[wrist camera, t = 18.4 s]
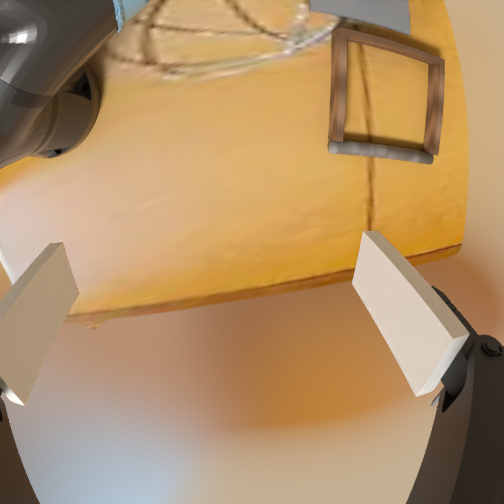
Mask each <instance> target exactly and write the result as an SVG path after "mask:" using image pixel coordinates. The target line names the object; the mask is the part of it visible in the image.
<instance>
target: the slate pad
mask: <svg viewBox="0 0 504 504" xmlns="http://www.w3.org/2000/svg"><path fill="white" fill-rule="evenodd" d="M309 10H310V11H314V12H320V13H326V14H331V15H336V16H341V17H346V18H350V19H355V20H359V21H363V22H366V23H370V24H374V25H377V26H381V27H384V28H387V29H391V30H394V31H397V32H400V33H403V34H406V35H410V17H409V5H408V0H309Z"/></svg>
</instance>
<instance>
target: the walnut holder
mask: <svg viewBox="0 0 504 504" xmlns="http://www.w3.org/2000/svg"><path fill="white" fill-rule="evenodd" d="M347 41H351V42H356V43H360V44H365V45H369V46H373V47H377V48H380V49H384V50H388V51H391V52H394V53H398V54H401V55H404V56H407V57H410V58H413V59H416V60H419V61H422V62H425V63H427V64H429V73H428V100H427V114H426V126H425V135H424V144H423V151H420V150H414V149H408V148H402V147H395V146H388V145H381V144H373V143H365V142H356V141H346V140H343V135H344V121H345V103H346V78H347ZM444 76H445V60H444V59H442V58H439V57H437V56H434V55H432V54H429V53H427V52H424V51H422V50H419V49H416V48H413V47H411V46H408V45H405V44H402V43H399V42H396V41H392V40H389V39H386V38H382V37H379V36H375V35H371V34H367V33H363V32H359V31H355V30H351V29H346V28H341V27H339V28H337V29H335V30H334V31H332V61H331V97H330V118H329V135H328V138H329V139H330V140H329V141H328V151H329V153H333V154H347V155H358V156H369V157H378V158H387V159H395V160H403V161H410V162H417V163H424V164H432V163H433V155H438V152H439V145H440V136H441V127H442V116H443V102H444ZM425 151H426V152H425Z"/></svg>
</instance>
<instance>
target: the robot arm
mask: <svg viewBox="0 0 504 504" xmlns="http://www.w3.org/2000/svg"><path fill="white" fill-rule="evenodd" d="M149 2H150V0H0V169H1V168H3V167H5V166H7V165H9V164H11V163H14V162H16V161H18V160H20V159H22V158H25V157H27V156H32V157H38V158H54V157H58V156H61V155H63V154H65V153H68V152H70V151H71V150H73V149H75V148H76V147H77V146H78V145H80V144H81V143H82V142H83V141H84V139H85V138H86V137H87V136H88V134H89V133H90V131H91V129H92V127H93V125H94V123H95V121H96V118H97V115H98V110H99V105H100V90H99V84H98V81H97V78H96V76H95V74H94V72H93V70H92V69H91V68H90V67H89V65H87V64H86V63H85V62H86V61H87V60H88V59H89V58H90V57H91V56H92V55H93V54H94V53H95V52H96V51H97V50H98V49H99V48H100V47H101V46H102V45H103V44H104V43H106V42H107V41H108V40H109V39H110V38H111V37H112V36H113V35H114V34H116V33H119V32H120V31H121V30H122V29H123V26H124V25H125V24H126V23H127V22H128V21H130V20H131V19H132V18H133V17H134V16H135V15H136V14H138V13H139V12H140V11H141V10H142V9H144V8H145V7H146V6H147V5H148V4H149ZM352 285H353V286H354V287H355V289H356V291H357V293H358V294H359V296H360V298H361V299H362V301H363V302H364V304H365V306H366V307H367V309H368V311H369V312H370V314H371V316H372V318H373V319H374V321H375V323H376V324H377V326H378V328H379V330H380V331H381V333H382V335H383V337H384V338H385V340H386V342H387V344H388V345H389V347H390V349H391V351H392V352H393V354H394V356H395V358H396V360H397V362H398V363H399V365H400V367H401V369H402V371H403V373H404V374H405V377H406V378H407V380H408V382H409V384H410V386H411V388H412V390H413V392H414V394H415V395H416V397H417V396H419V395H422V394H425V393H428V392H431V391H433V390H434V388H435V387H436V386H437V384H438V383H439V381H440V380H441V381H442V383H443V385H444V387H443V389H442V390H441V391H440V393H439V394H438V395H437V396H436V398H435V399H434V400H433V402H432V404H431V406H434V405H435V404H436V402H437V401H438V400H439V402H438V406H437V411H436V415H435V419H434V424H433V427H432V431H431V435H430V438H429V442H428V445H427V448H426V451H425V455H424V458H423V461H422V464H421V467H420V469H419V473H418V475H417V478H416V480H415V483H414V486H413V488H412V491H411V493H410V496H409V498H408V500H407V503H406V504H504V346H502V345H501V344H500V342H499V341H498V340H496V339H495V338H493V337H491V336H489V335H478V334H477V333H476V331H475V330H474V329H473V328H472V327H471V325H470V324H469V323H468V321H467V320H466V319H465V318H464V317H463V316H462V314H461V313H460V312H459V311H457V308H456V307H455V306H454V305H453V304H451V301H450V300H449V299H448V298H447V297H446V295H445V294H444V293H443V292H441V291H440V290H438V289H437V288H435V287H434V286H430V285H429V284H428V283H427V282H426V281H425V279H424V278H423V277H422V276H421V275H420V274H419V273H418V272H417V271H416V269H415V268H414V267H413V266H412V265H411V264H410V263H409V262H408V261H407V260H406V259H405V258H404V257H403V256H402V255H401V254H400V253H399V252H398V251H397V249H396V248H395V247H394V246H393V245H392V244H391V243H390V242H389V241H388V240H387V239H386V238H385V237H384V236H383V235H382V234H381V233H380V232H379V231H363V235H362V240H361V245H360V250H359V255H358V259H357V264H356V269H355V273H354V277H353V282H352ZM78 295H79V291H78V288H77V285H76V283H75V280H74V277H73V274H72V271H71V268H70V264H69V261H68V258H67V255H66V251H65V248H64V244H63V242H61V243H50V244H49V245H48V246H47V247H46V248H45V249H44V250H43V252H42V253H41V254H40V255H39V256H38V257H37V258H36V259H35V260H34V262H33V263H32V264H31V265H30V266H29V267H28V268H27V270H26V271H25V272H24V273H23V274H22V276H21V277H20V278H19V279H18V280H17V282H16V283H15V284H14V285H13V287H12V288H11V289H10V290H9V292H8V293H7V294H6V295H5V297H4V298H3V300H2V301H1V302H0V396H1V394H2V391H3V392H4V394H5V395H6V396H7V397H8V398H9V399H10V401H12V402H15V403H18V404H21V405H24V406H25V405H26V402H27V400H28V397H29V395H30V392H31V390H32V387H33V385H34V382H35V380H36V377H37V375H38V373H39V371H40V369H41V366H42V364H43V362H44V360H45V358H46V355H47V353H48V351H49V349H50V347H51V345H52V343H53V341H54V339H55V337H56V335H57V333H58V331H59V329H60V327H61V325H62V323H63V322H64V320H65V318H66V316H67V314H68V312H69V310H70V309H71V307H72V305H73V303H74V302H75V300H76V298H77V296H78ZM0 504H40V503H39V501H38V499H37V497H36V495H35V493H34V490H33V488H32V486H31V484H30V481H29V479H28V476H27V474H26V471H25V469H24V467H23V464H22V461H21V458H20V455H19V453H18V450H17V447H16V444H15V440H14V437H13V434H12V431H11V427H10V423H9V419H8V416H7V411H6V407H5V404H4V401H3V400H2V399H1V397H0Z"/></svg>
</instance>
